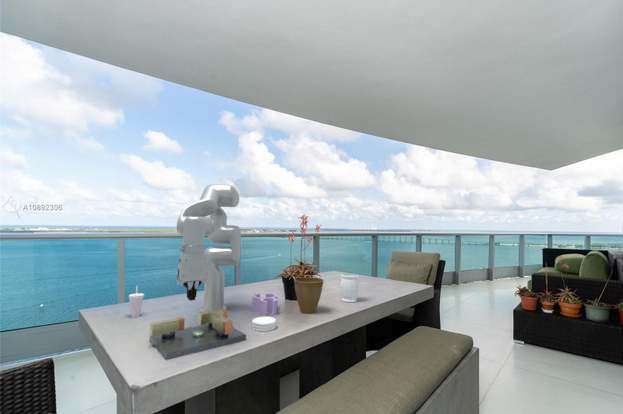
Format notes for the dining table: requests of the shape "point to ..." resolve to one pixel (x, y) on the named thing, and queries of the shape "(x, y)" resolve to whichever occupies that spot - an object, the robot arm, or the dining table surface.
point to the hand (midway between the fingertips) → (191, 299)
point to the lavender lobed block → (265, 304)
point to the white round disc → (263, 324)
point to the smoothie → (136, 303)
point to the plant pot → (308, 293)
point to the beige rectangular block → (210, 316)
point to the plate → (193, 341)
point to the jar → (349, 287)
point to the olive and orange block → (167, 327)
